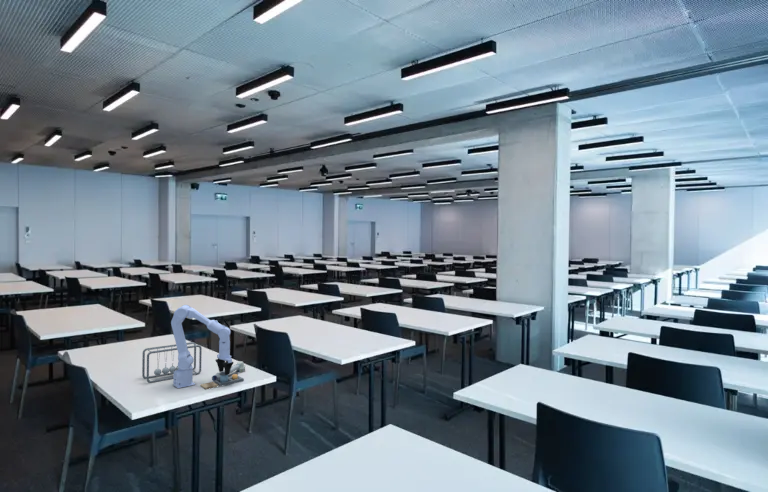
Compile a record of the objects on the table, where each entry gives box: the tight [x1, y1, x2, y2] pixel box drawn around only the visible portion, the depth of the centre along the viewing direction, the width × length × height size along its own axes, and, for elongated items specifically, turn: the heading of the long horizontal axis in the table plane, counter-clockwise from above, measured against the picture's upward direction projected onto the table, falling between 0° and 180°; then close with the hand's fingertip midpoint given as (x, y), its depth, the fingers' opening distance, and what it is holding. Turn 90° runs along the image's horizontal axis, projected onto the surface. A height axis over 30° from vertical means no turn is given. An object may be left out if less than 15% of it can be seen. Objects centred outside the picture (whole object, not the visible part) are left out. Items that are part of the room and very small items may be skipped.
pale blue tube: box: [211, 360, 246, 382], centre depth 267 cm, size 5×7×25 cm
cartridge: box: [220, 372, 229, 383], centre depth 252 cm, size 5×5×6 cm
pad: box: [200, 381, 219, 390], centre depth 246 cm, size 7×7×1 cm
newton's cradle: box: [141, 341, 202, 384], centre depth 263 cm, size 30×10×18 cm, turn 132°
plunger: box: [231, 373, 239, 380], centre depth 257 cm, size 3×3×3 cm
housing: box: [213, 375, 245, 387], centre depth 255 cm, size 14×8×2 cm, turn 135°
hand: (224, 372), depth 252 cm, fingers open, 7 cm apart
